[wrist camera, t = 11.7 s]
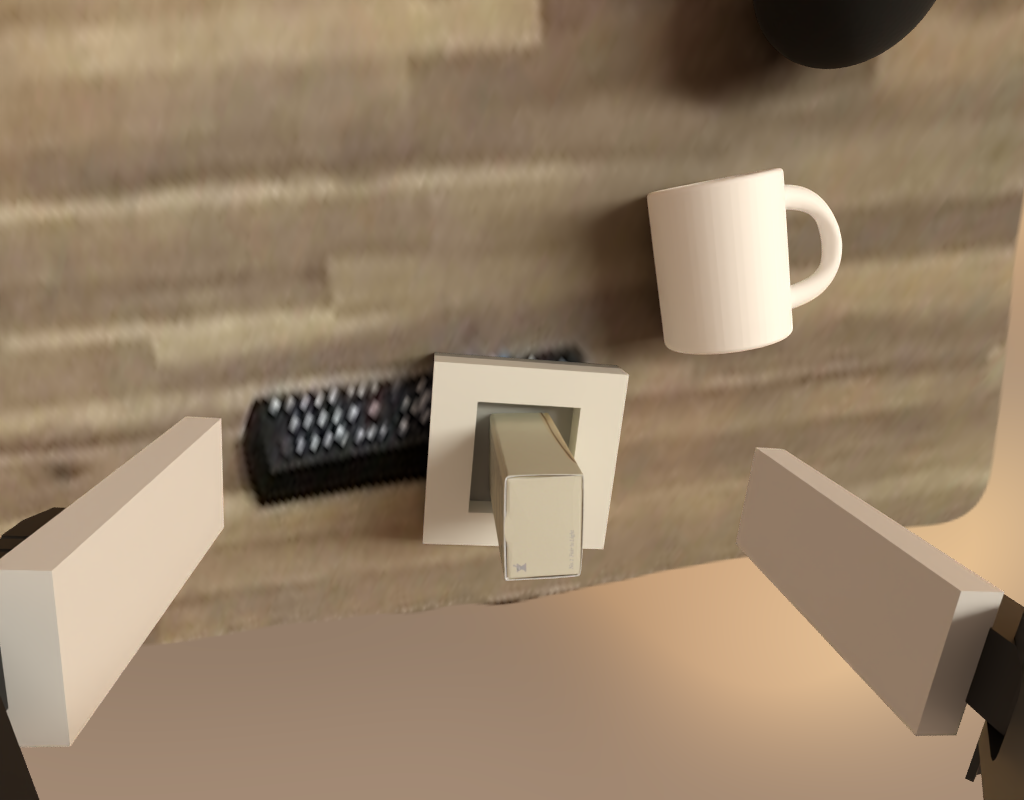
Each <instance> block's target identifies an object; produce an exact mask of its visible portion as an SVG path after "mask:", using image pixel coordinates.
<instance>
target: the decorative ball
mask: <svg viewBox="0 0 1024 800" xmlns="http://www.w3.org/2000/svg"><path fill="white" fill-rule="evenodd" d="M935 1H936V0H753V5H754V10H755V14H756V18H757V20H758V23H759V26H760V28H761V30H762V32H763V34H764V35H765V37H766V38H767V40H768V41H769V42H770V44H771V45H772V46H773V47H774V48H775V49H776V50H777V51H778V52H779V53H781V54H782V55H783V56H785V57H786V58H788V59H790V60H791V61H793V62H796V63H798V64H801V65H804V66H807V67H812V68H820V69H836V68H843V67H848V66H852V65H856V64H859V63H862V62H865V61H867V60H869V59H871V58H874V57H876V56H878V55H879V54H881V53H883V52H885V51H886V50H888V49H889V48H891V47H892V46H894V45H895V44H897V43H898V42H899V41H900V40H902V39H903V38H904V37H905V36H906V35H907V34H909V33H910V32H911V31H912V30H913V29H914V28H915V27H916V26H917V24H918V23H919V22H920V21H921V20H922V19H923V18H924V16H925V15H926V14H927V12H928V11H929V10H930V8H931V7H932V5H933V4H934V2H935Z"/></svg>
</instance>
